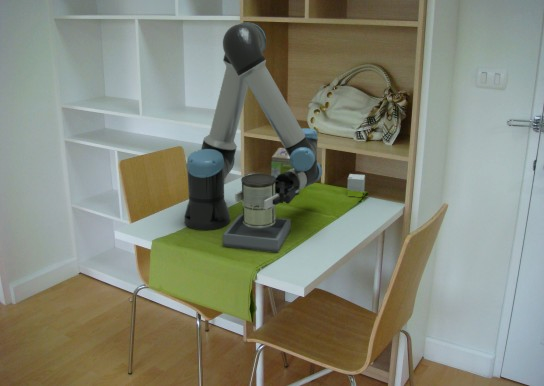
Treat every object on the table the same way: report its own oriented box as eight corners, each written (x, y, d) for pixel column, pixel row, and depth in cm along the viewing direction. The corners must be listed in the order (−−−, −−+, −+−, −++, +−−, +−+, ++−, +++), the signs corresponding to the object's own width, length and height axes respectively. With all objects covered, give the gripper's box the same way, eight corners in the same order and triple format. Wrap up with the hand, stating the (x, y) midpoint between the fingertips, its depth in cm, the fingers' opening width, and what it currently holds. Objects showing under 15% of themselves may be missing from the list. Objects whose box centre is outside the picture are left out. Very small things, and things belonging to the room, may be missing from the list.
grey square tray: (223, 246, 170) (222, 234, 169) (239, 225, 186) (239, 214, 184) (277, 252, 166) (278, 240, 165) (290, 230, 182) (290, 219, 180)
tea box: (296, 196, 213) (296, 158, 209) (270, 194, 215) (270, 156, 210) (302, 183, 227) (302, 148, 222) (277, 182, 229) (277, 146, 224)
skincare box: (364, 192, 217) (365, 174, 215) (362, 198, 212) (363, 179, 209) (348, 191, 219) (349, 173, 216) (346, 196, 213) (347, 178, 211)
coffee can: (237, 219, 176) (235, 176, 172) (266, 213, 181) (266, 171, 176) (251, 230, 168) (250, 185, 163) (281, 224, 172) (281, 180, 167)
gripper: (320, 199, 181) (282, 221, 163) (262, 186, 193) (221, 206, 175) (320, 176, 178) (282, 196, 161) (262, 165, 190) (220, 183, 173)
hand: (250, 201), depth 168 cm, fingers closed on coffee can, 10 cm apart
